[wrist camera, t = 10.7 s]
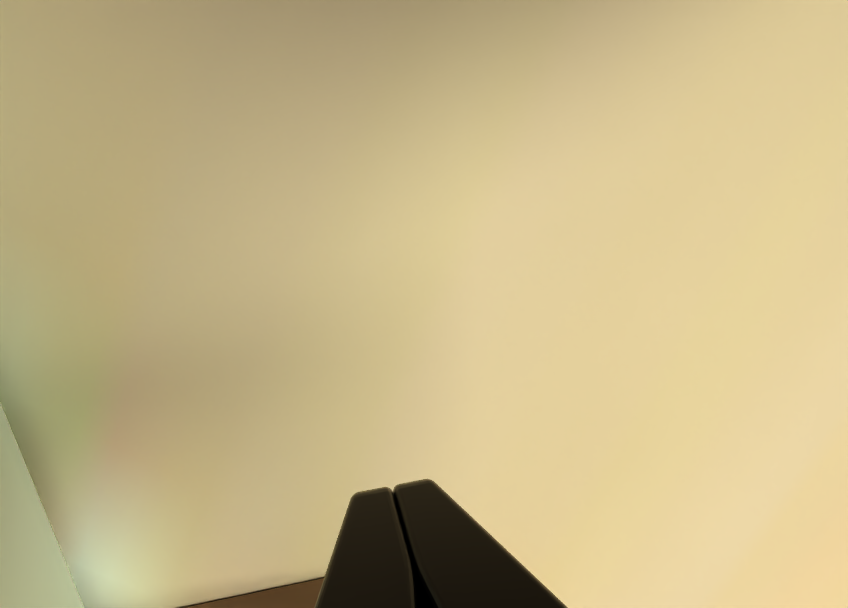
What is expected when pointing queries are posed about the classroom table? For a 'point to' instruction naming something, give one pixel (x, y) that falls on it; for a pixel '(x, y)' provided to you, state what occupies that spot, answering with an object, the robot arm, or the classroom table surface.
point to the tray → (28, 539)
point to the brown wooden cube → (273, 598)
